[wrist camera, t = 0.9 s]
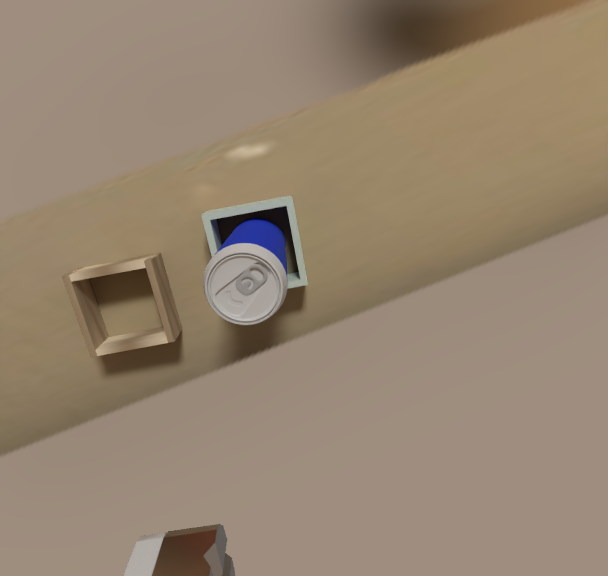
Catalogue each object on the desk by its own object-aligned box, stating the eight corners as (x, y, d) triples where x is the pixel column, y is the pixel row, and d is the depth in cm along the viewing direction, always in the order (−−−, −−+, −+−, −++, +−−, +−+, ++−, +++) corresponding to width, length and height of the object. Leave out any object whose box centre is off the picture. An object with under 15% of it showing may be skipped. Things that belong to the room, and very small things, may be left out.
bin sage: (291, 195, 37) (292, 197, 35) (306, 276, 40) (308, 284, 37) (207, 210, 37) (201, 214, 35) (227, 291, 40) (222, 300, 37)
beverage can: (259, 281, 40) (247, 346, 25) (219, 245, 38) (181, 290, 24) (297, 243, 39) (305, 287, 24) (256, 205, 38) (240, 227, 23)
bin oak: (160, 253, 38) (150, 259, 35) (182, 329, 40) (174, 341, 38) (78, 268, 38) (61, 276, 35) (104, 343, 40) (90, 357, 38)
